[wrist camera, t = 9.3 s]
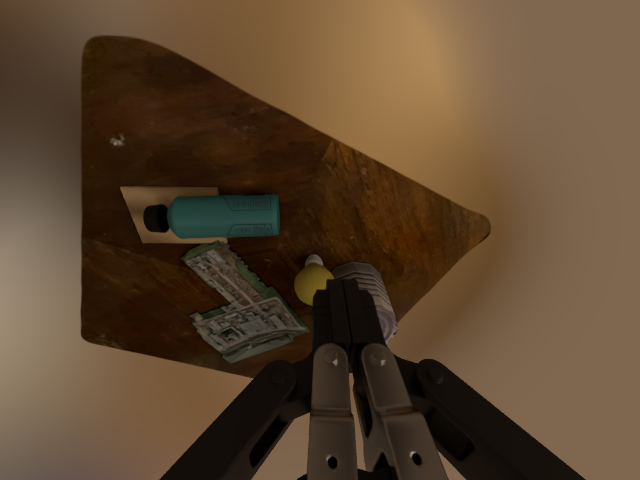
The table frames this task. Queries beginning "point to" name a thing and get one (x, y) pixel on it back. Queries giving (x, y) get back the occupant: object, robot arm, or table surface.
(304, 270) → the light bulb
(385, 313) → the can
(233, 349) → the model
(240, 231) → the beverage bottle
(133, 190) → the mat
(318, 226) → the table surface
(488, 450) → the robot arm
